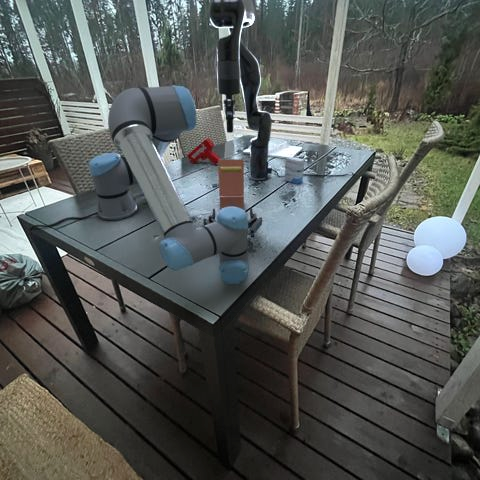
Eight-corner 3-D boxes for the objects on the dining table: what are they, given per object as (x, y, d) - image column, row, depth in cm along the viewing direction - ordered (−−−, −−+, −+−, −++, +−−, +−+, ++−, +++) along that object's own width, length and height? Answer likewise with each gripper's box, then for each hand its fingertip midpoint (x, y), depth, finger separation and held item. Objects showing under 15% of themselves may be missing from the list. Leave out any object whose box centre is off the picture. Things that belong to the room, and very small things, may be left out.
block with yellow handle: (218, 159, 101) (217, 159, 93) (243, 159, 102) (244, 158, 94) (219, 195, 105) (218, 198, 97) (243, 195, 105) (244, 197, 97)
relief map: (291, 159, 177) (291, 151, 174) (243, 153, 190) (243, 145, 187) (302, 149, 197) (303, 142, 194) (258, 144, 211) (258, 137, 208)
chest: (221, 203, 121) (220, 184, 116) (242, 203, 121) (242, 184, 116) (220, 217, 110) (219, 197, 105) (243, 217, 110) (243, 196, 105)
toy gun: (223, 158, 167) (209, 137, 163) (221, 160, 164) (206, 138, 160) (204, 173, 177) (189, 154, 173) (201, 175, 174) (186, 155, 170)
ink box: (302, 181, 142) (305, 159, 136) (297, 184, 139) (300, 161, 133) (289, 177, 147) (291, 156, 141) (284, 180, 144) (285, 158, 138)
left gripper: (193, 254, 84) (199, 221, 102) (273, 252, 85) (265, 219, 102) (190, 233, 80) (197, 203, 98) (275, 231, 81) (266, 201, 98)
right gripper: (218, 76, 95) (220, 126, 103) (216, 78, 83) (218, 134, 91) (239, 76, 95) (239, 126, 103) (240, 78, 83) (241, 134, 92)
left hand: (232, 211), depth 100 cm, fingers open, 13 cm apart
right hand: (230, 129), depth 97 cm, fingers open, 8 cm apart
